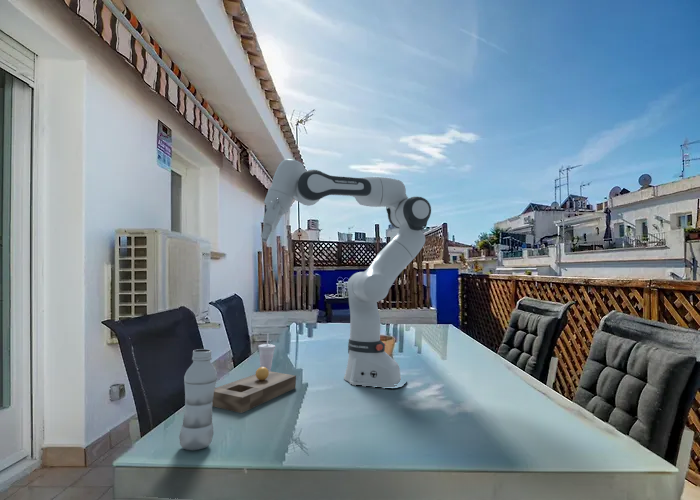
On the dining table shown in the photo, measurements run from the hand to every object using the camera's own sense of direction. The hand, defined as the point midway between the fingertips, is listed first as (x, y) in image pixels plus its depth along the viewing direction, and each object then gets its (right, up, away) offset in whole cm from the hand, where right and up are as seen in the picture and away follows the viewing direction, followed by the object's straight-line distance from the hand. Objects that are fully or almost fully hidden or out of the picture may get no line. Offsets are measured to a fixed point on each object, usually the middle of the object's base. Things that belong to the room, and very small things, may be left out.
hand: (263, 239), depth 128 cm
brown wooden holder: (+1, -48, -15) cm, 50 cm away
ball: (+2, -42, -12) cm, 44 cm away
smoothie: (-2, -50, +14) cm, 52 cm away
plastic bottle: (-3, -45, -50) cm, 67 cm away
